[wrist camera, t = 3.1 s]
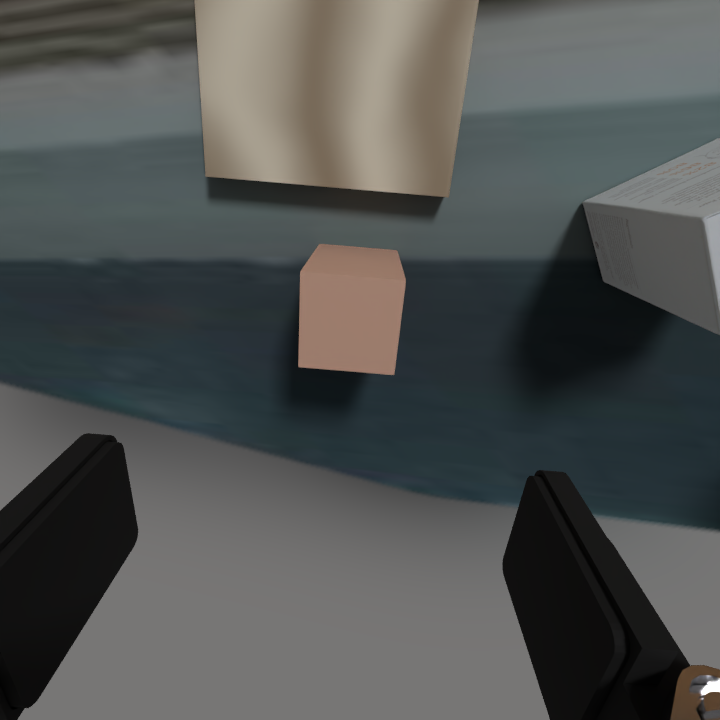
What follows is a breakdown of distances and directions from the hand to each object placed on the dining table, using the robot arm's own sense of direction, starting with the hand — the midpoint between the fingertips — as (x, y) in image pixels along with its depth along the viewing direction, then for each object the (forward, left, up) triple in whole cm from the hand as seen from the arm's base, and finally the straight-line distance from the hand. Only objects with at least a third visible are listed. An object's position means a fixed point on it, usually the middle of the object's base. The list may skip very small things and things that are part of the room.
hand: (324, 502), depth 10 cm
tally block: (0, 0, -20) cm, 20 cm away
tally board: (+2, -14, -20) cm, 25 cm away
